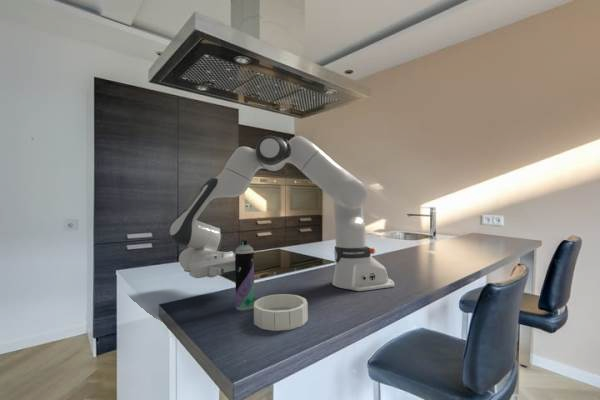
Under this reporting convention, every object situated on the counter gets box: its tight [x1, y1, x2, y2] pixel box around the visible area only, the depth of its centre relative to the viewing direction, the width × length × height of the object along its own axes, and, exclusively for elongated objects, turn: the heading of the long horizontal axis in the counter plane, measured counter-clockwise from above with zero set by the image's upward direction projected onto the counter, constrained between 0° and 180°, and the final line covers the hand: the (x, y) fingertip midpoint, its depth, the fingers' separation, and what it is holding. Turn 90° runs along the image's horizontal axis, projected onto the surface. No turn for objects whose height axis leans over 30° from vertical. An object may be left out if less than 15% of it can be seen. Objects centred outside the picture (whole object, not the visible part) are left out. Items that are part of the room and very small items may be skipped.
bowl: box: [253, 293, 309, 332], centre depth 79 cm, size 14×14×4 cm
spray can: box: [234, 239, 256, 312], centre depth 89 cm, size 6×6×20 cm
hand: (235, 268), depth 92 cm, fingers open, 8 cm apart
